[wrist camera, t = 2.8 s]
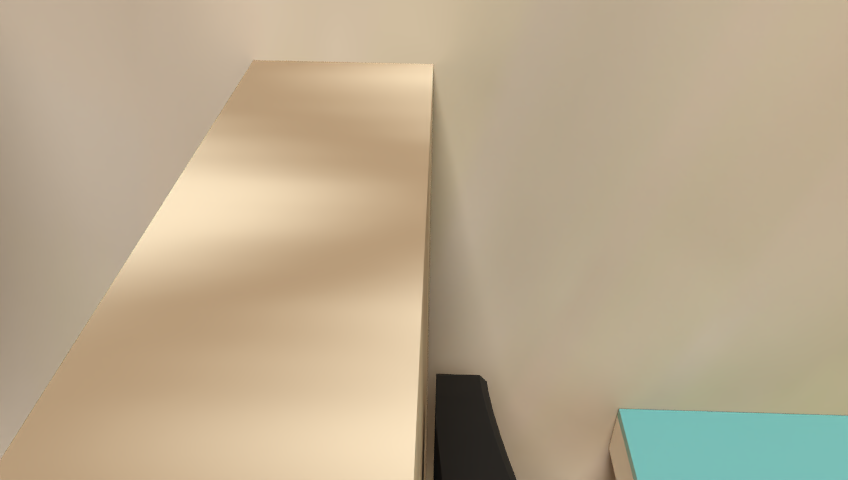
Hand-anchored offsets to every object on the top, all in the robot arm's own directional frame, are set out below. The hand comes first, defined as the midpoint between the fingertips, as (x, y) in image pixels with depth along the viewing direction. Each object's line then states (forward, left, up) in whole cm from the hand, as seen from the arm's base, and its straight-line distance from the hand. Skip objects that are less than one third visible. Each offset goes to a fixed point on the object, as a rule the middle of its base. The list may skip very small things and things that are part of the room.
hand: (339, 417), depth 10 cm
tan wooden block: (0, 0, -2) cm, 2 cm away
